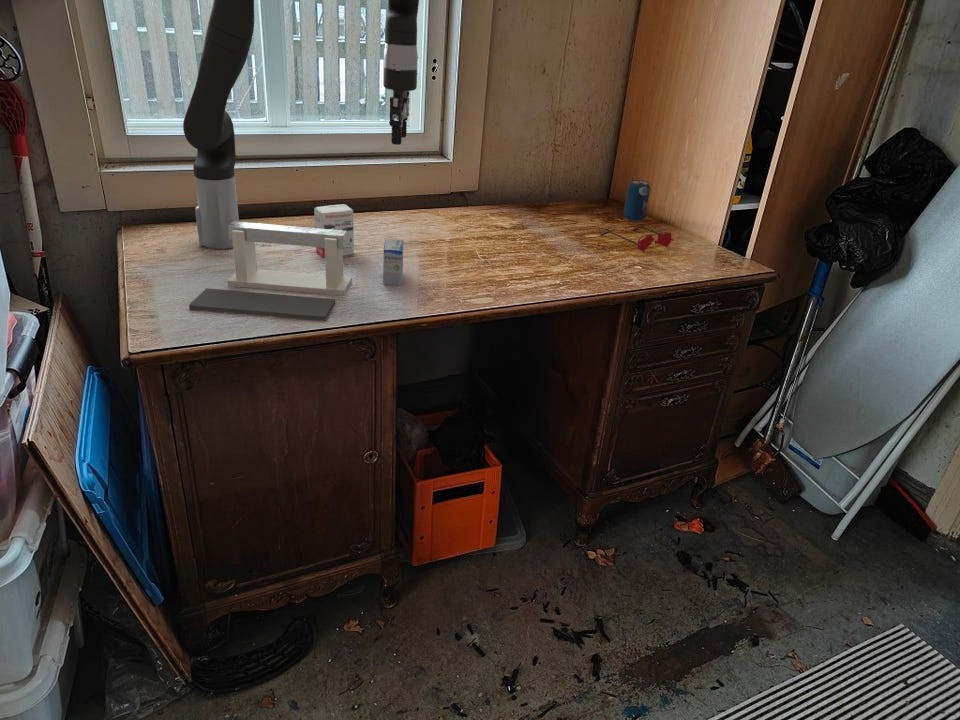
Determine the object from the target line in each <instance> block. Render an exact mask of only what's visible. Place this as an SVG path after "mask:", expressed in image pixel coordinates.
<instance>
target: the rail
mask: <svg viewBox="0 0 960 720" xmlns="http://www.w3.org/2000/svg"><path fill="white" fill-rule="evenodd" d="M232 230H241V231H244V234H245V241H252V242H255V243H264V244H265V243H266V244H275V245H277V244H278V245H289V246H301V247H313V248H316V247H323V248H325V240H324V239H325V238H335V239H337V249H344V248H345V246H346V245H347V231H343V230H331V229H319V228H315V227H305V226H294V225H281V224H270V223H269V224H268V223H259V222H257V223H256V222H250V223H248V222H247V221H239V222H236V221H234V222H232V223H231V224H230V225H229V226H228V232H229V240H232Z"/></svg>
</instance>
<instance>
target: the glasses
mask: <svg viewBox="0 0 960 720" xmlns="http://www.w3.org/2000/svg"><path fill="white" fill-rule="evenodd" d="M639 229H644V230H647V231H648V232H651V233H653V234H645V235H642V236H641V237H640V238H638V241H637V242H636V241H633V240H630V239H628V238H626V237H624V236H621V235H619V234H617V233H614V232H613V231H605V232H603V233H601V234H599V236H601V237H603V236H604V235H606V234H612V235H614V236H617V237H619V238H621V239H623V240H625V241H628V242H630V243H633V244H634V245H637V246H636V247H637V248H636V249H638V250H640V251H641V252H644V251H646V250H647V249H648V247H649V246H652V243H653V242H654V243H655V244H656V245H660V246H663V247H666V248H668V247H669V245H670V244H671V242H673V241H674V238H672V232H671V231H670V232H669V231H664V232H656V231H653V230H652V229H648V228H647V227H644V226H639V227H636V228H633V229H632V231H633V232H635V231H637V230H639ZM655 235H657V239H656V240H655V238H654V237H653V236H655Z"/></svg>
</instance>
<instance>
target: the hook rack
mask: <svg viewBox="0 0 960 720" xmlns="http://www.w3.org/2000/svg"><path fill="white" fill-rule="evenodd" d="M248 223H251V222H250V221H249V222H248ZM332 230H333V229H332ZM324 240H325V258H324V261H325V263H324V265H325V274H316V273H306V272H305V273H303V272H296V271H295V272H293V271H282V270H270V269H258V264H257V250H256V242H252V241H245V234H244V231H241V230H232V241H233V248H232V249H233V250H232V251H233V258H234V270H235V271H234V273H233V274H232V275H231V276H230V277H229V279H228V280H227V286H228V287H238V288H239V287H240V288H251V289H262V290H271V291H272V290H276V291H286V292H287V291H288V292H297V293H308V294H309V293H310V294H321V295H322V294H323V295H334V296H345V295H346V294H347V292H348V290H349V289H350V286H351V284H352V283H353V277H352V276H344V255H343V249H337V239H335V238H325V239H324Z"/></svg>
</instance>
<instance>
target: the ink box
mask: <svg viewBox="0 0 960 720" xmlns="http://www.w3.org/2000/svg"><path fill="white" fill-rule="evenodd" d="M313 209H314V228H319V229H331V230H332V229H333V230H343V231H347V245H346V246H345V248H344V249H343V256H348V255H354V254H355V252H354V251H355V247H354V246H355V245H354V244H355V243H354V239H355V238H354V209H352V208H351V207H349V206H348V205H347V204H346V203H345V204H344V203H343V204H334V205H333V204H332V205H331V204H330V205H324V206H316V207H314V208H313ZM315 249H316V250H315V252H316V254H318V255H319V256H320V257H321V258H323V259H325V248H323V247H315Z"/></svg>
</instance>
